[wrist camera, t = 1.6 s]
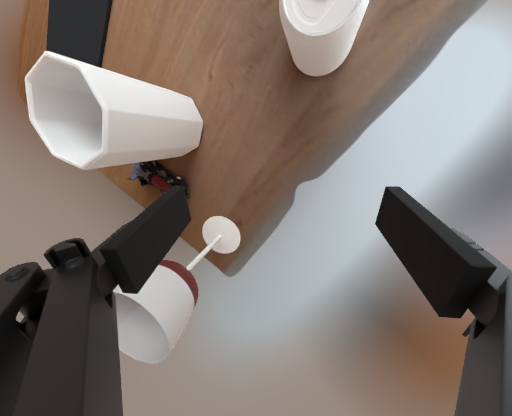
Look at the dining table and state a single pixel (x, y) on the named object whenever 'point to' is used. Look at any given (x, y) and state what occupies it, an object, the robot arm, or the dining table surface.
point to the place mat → (78, 29)
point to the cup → (107, 115)
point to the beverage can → (320, 31)
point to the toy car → (157, 176)
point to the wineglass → (167, 299)
